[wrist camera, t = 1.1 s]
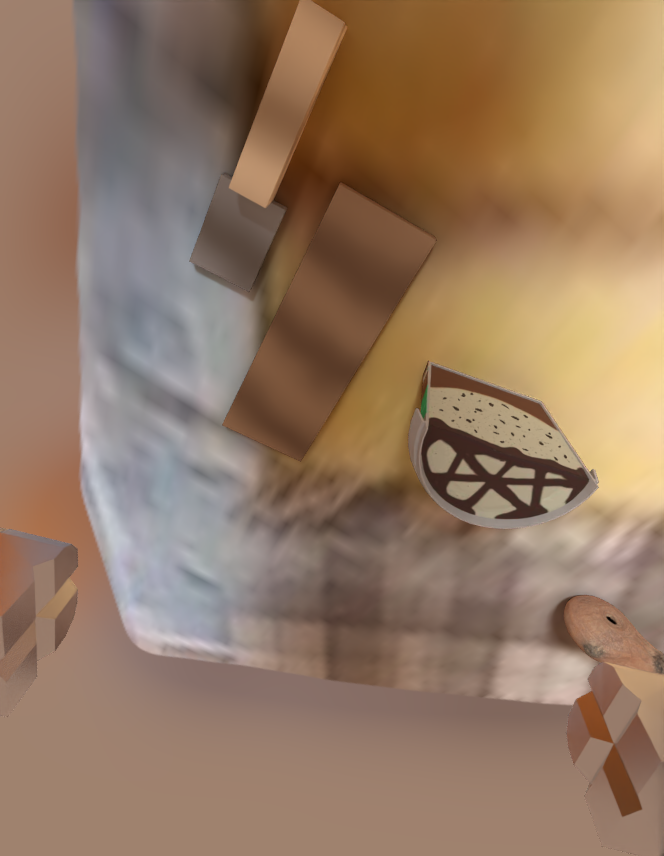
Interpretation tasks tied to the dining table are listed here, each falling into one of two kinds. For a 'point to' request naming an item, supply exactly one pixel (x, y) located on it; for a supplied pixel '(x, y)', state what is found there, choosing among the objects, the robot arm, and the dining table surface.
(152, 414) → the dining table surface
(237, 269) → the turner
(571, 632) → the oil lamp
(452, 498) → the food container
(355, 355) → the wooden board
